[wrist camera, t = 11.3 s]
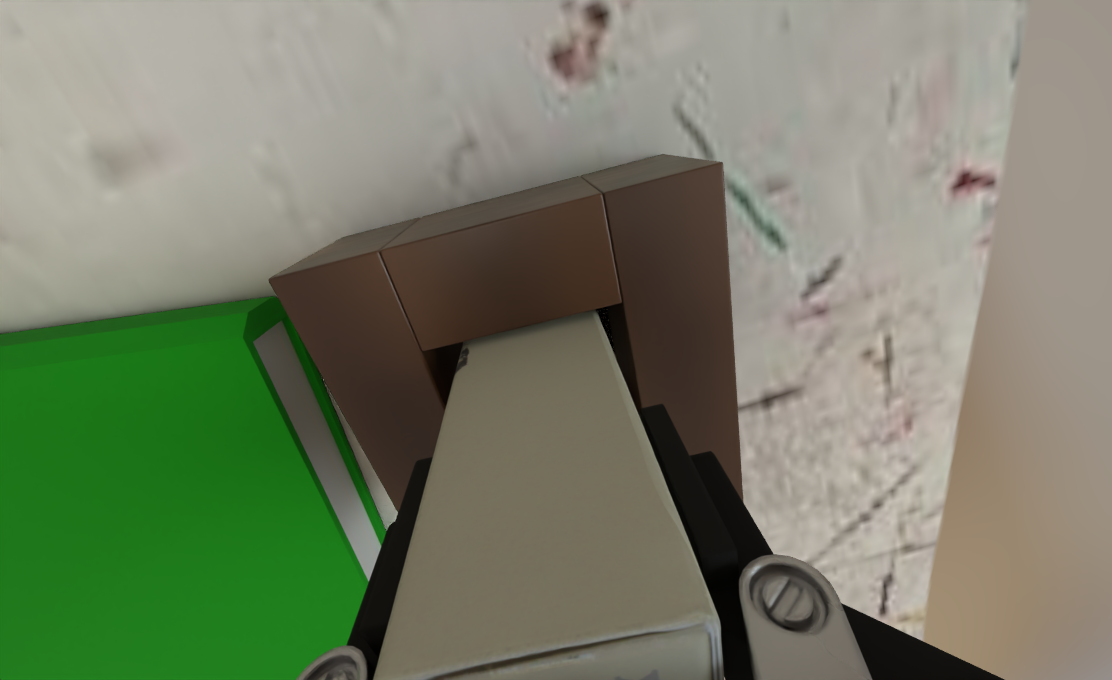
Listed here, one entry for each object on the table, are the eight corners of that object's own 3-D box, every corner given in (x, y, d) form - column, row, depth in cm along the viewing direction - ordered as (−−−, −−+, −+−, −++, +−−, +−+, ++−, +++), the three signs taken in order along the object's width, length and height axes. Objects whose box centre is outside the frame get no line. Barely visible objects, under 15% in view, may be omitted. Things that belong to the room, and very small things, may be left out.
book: (432, 641, 26) (421, 700, 23) (-32, 706, 26) (-98, 773, 23) (283, 289, 16) (234, 320, 13) (-464, 393, 16) (-666, 445, 13)
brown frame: (664, 153, 15) (723, 161, 10) (694, 421, 20) (744, 504, 15) (341, 237, 15) (265, 279, 11) (452, 477, 20) (431, 574, 16)
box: (472, 293, 16) (333, 685, 5) (586, 269, 16) (732, 613, 5) (505, 406, 19) (468, 856, 7) (605, 386, 18) (737, 812, 7)
